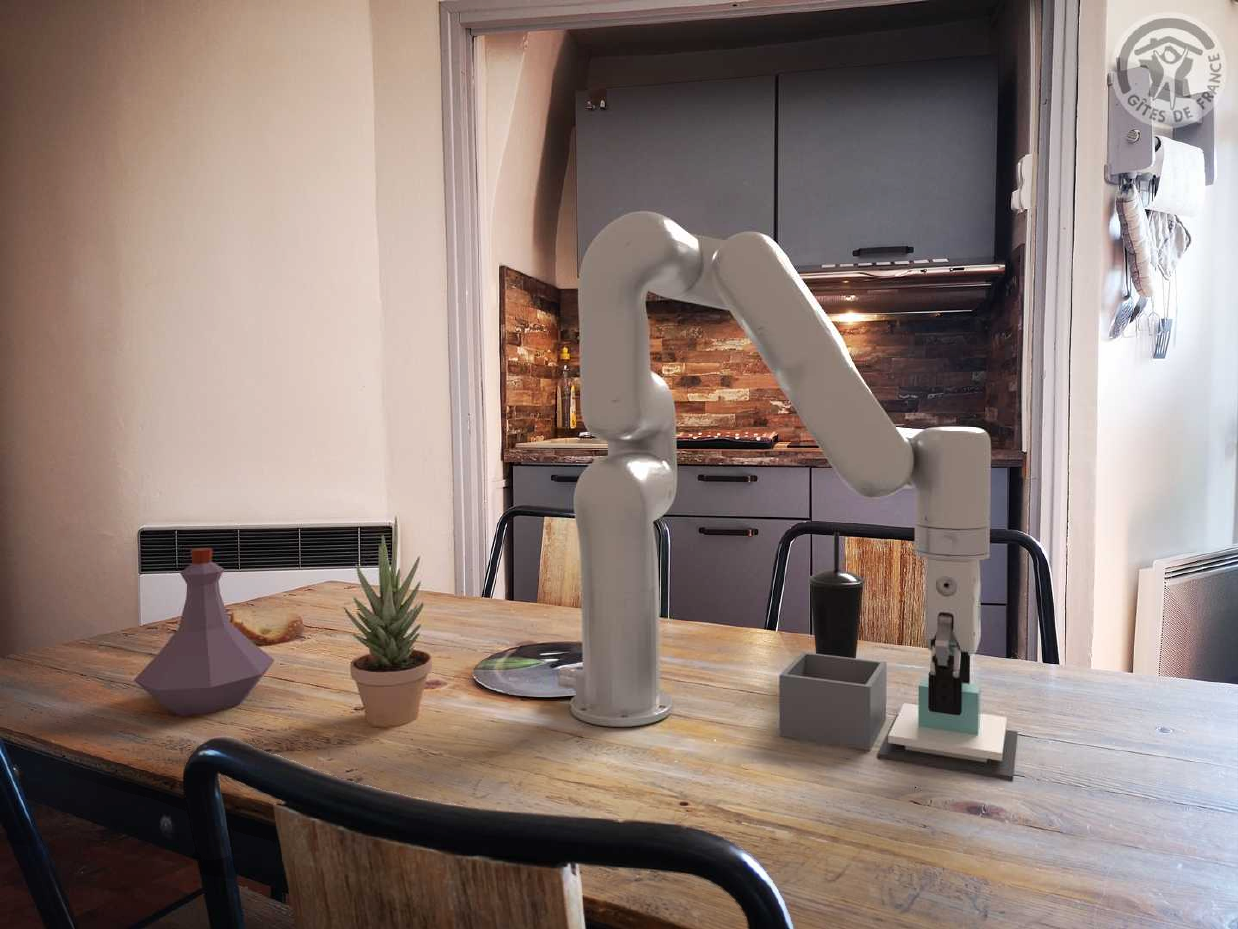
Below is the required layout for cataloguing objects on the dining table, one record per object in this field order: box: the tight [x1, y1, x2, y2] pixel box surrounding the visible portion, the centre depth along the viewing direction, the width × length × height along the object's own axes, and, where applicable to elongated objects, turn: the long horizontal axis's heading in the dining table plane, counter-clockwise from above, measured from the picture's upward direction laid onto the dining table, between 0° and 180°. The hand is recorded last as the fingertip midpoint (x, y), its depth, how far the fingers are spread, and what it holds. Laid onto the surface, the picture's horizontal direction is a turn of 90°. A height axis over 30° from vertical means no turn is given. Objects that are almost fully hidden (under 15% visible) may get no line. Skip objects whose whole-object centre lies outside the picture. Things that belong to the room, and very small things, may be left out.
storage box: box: [778, 651, 887, 752], centre depth 98 cm, size 10×10×7 cm
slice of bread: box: [229, 609, 305, 647], centre depth 146 cm, size 18×18×4 cm
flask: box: [133, 547, 275, 716], centre depth 109 cm, size 16×16×20 cm
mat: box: [876, 713, 1018, 781], centre depth 92 cm, size 13×13×1 cm
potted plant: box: [342, 516, 433, 728], centre depth 102 cm, size 10×10×25 cm
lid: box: [888, 677, 1008, 762], centre depth 92 cm, size 11×11×6 cm
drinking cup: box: [807, 532, 867, 659], centre depth 116 cm, size 8×8×20 cm
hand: (949, 698), depth 92 cm, fingers open, 9 cm apart
